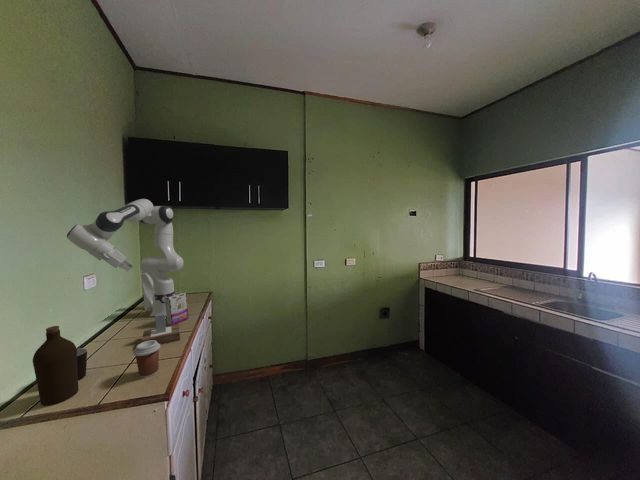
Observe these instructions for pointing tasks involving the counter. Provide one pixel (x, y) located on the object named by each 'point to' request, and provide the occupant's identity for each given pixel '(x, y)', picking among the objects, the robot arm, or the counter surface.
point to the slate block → (160, 323)
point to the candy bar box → (176, 308)
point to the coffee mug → (81, 362)
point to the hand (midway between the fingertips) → (130, 268)
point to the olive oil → (56, 368)
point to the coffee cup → (147, 358)
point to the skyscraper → (148, 291)
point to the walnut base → (163, 335)
